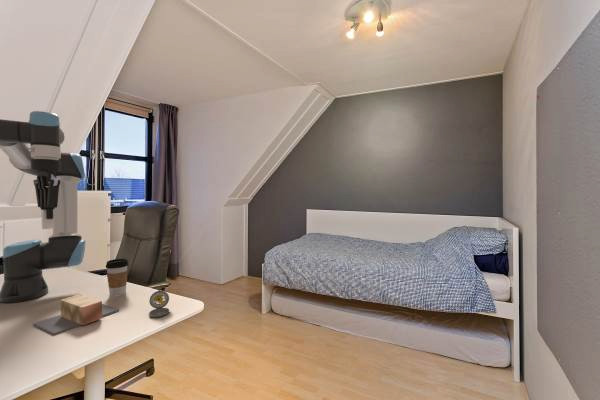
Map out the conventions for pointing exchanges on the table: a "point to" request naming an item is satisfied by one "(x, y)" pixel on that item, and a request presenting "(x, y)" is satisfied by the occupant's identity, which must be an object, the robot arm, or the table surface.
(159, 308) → the pocket watch
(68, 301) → the oak block
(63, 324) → the rubber mat
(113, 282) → the coffee cup
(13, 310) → the table surface
